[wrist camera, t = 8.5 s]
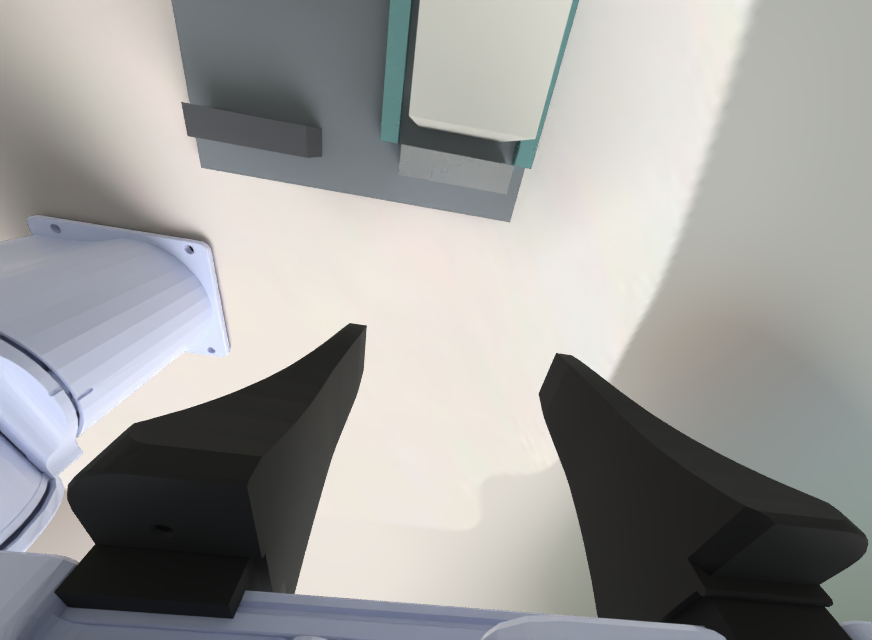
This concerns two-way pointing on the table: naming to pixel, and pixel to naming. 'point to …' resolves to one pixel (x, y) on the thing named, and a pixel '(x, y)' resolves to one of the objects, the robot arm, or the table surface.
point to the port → (437, 162)
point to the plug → (485, 65)
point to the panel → (322, 98)
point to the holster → (252, 131)
